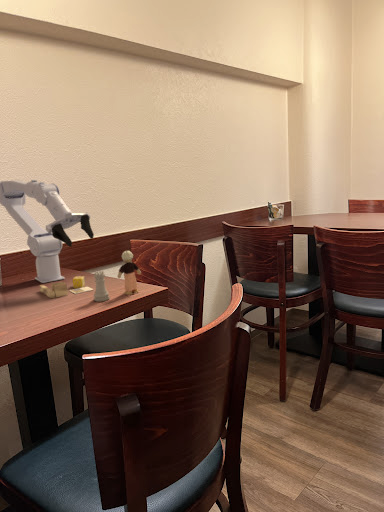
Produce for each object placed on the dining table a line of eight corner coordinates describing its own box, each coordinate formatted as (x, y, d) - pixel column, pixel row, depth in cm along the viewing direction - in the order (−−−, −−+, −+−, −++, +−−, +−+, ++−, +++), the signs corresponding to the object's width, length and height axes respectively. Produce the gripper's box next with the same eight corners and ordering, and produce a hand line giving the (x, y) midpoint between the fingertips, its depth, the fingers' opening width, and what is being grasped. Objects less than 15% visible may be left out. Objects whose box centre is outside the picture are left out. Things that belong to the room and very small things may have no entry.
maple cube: (52, 295, 122) (51, 283, 121) (63, 292, 124) (62, 281, 123) (56, 297, 119) (54, 285, 118) (67, 294, 121) (66, 283, 120)
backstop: (40, 291, 127) (39, 285, 127) (43, 290, 128) (43, 284, 128) (51, 298, 118) (50, 292, 118) (55, 297, 119) (54, 291, 118)
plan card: (69, 290, 125) (69, 290, 125) (87, 287, 129) (87, 286, 129) (74, 294, 121) (74, 293, 121) (93, 289, 125) (93, 289, 125)
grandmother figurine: (135, 289, 123) (131, 248, 121) (144, 290, 121) (140, 249, 118) (116, 295, 117) (112, 252, 115) (125, 297, 115) (121, 253, 112)
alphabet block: (85, 284, 132) (84, 275, 132) (82, 287, 129) (81, 278, 129) (75, 285, 132) (74, 276, 132) (73, 288, 129) (72, 278, 129)
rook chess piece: (106, 302, 111) (103, 274, 110) (91, 302, 112) (88, 274, 111) (112, 297, 116) (109, 270, 114) (97, 297, 116) (95, 270, 115)
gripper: (39, 209, 124) (61, 239, 119) (81, 196, 132) (103, 224, 128) (38, 224, 129) (59, 254, 124) (79, 211, 137) (100, 239, 133)
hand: (81, 240), depth 126 cm, fingers open, 7 cm apart
